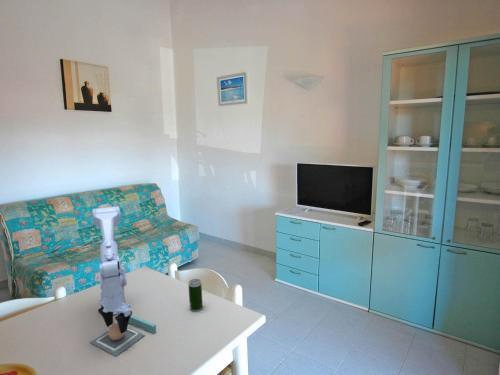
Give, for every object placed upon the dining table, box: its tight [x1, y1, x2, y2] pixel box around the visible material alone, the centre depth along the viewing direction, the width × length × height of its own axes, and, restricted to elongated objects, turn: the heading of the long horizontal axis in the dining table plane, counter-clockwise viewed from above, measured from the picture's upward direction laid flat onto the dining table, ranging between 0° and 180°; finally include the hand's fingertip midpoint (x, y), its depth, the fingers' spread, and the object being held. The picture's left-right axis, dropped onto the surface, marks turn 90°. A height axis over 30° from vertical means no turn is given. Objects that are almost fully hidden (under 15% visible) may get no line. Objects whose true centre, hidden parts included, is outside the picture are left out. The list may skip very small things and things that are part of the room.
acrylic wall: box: [116, 312, 157, 335], centre depth 118 cm, size 20×1×3 cm, turn 60°
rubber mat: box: [89, 326, 146, 358], centre depth 110 cm, size 14×12×1 cm
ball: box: [108, 322, 125, 340], centre depth 109 cm, size 6×6×6 cm
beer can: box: [188, 278, 203, 312], centre depth 127 cm, size 5×5×12 cm
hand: (116, 328), depth 109 cm, fingers open, 7 cm apart
